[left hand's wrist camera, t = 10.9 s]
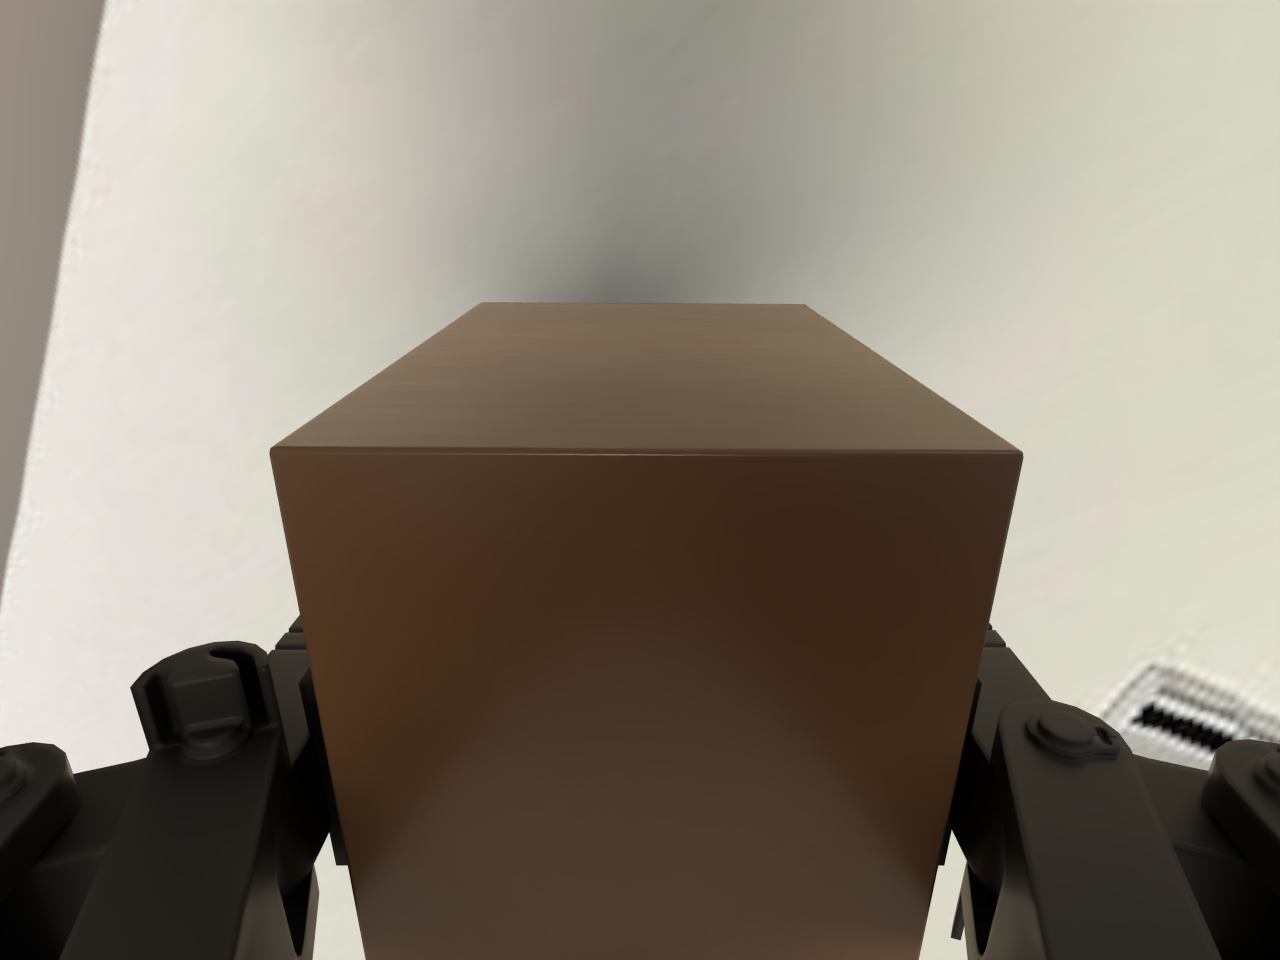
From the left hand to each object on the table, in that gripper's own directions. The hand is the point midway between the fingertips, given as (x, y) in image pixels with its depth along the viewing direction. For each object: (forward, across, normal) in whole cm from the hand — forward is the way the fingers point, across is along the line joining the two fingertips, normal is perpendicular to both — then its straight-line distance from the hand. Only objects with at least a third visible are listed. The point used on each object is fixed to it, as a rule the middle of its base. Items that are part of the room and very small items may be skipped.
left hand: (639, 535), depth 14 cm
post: (0, 0, -33) cm, 33 cm away
